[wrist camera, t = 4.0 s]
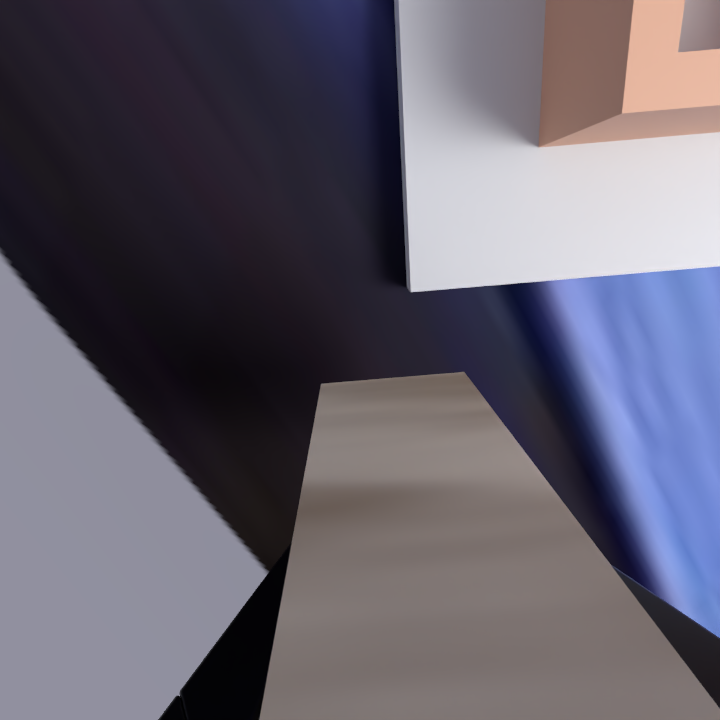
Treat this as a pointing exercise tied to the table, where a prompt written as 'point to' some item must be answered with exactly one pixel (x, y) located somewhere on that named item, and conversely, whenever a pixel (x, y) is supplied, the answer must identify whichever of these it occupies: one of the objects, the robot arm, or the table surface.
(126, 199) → the table surface
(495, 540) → the birch peg
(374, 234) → the table surface
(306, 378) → the table surface
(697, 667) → the robot arm
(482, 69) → the socket stand
